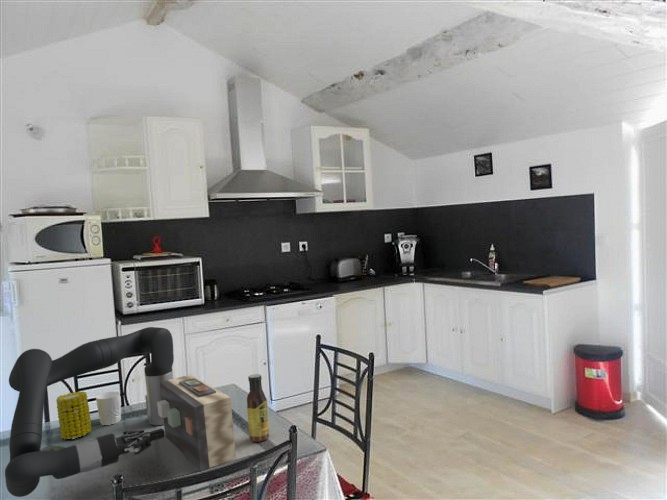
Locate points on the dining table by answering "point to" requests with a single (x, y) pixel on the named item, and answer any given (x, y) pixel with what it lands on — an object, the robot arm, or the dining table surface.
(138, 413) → the dining table surface
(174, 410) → the sage key
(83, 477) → the dining table surface
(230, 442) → the keypad
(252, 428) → the sauce bottle
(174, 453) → the dining table surface
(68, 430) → the food
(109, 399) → the white cup
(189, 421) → the terracotta key
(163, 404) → the ivory key
